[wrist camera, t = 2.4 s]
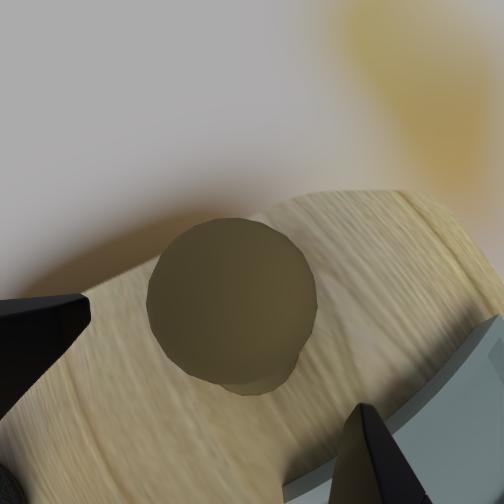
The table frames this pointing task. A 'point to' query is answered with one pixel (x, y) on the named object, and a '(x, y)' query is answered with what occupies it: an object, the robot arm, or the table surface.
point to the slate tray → (445, 429)
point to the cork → (233, 304)
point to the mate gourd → (9, 488)
